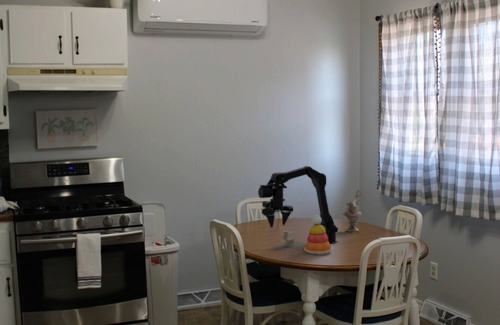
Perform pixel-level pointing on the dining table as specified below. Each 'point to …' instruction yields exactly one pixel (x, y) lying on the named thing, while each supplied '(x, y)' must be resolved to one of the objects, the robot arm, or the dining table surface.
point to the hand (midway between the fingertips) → (277, 226)
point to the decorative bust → (352, 213)
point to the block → (288, 239)
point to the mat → (296, 244)
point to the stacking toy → (317, 238)
